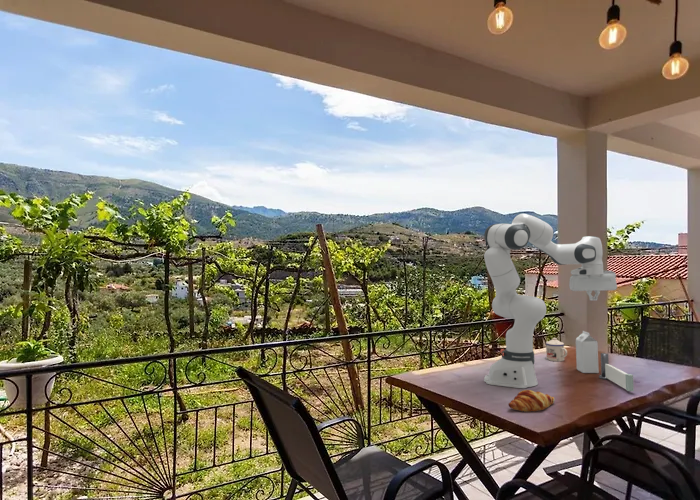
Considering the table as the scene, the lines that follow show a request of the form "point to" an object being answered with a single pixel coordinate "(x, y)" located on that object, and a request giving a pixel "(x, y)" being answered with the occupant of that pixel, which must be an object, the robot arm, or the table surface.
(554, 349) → the teacup with lid
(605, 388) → the table surface
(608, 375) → the gate
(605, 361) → the hinge post
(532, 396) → the croissant
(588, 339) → the milk carton
